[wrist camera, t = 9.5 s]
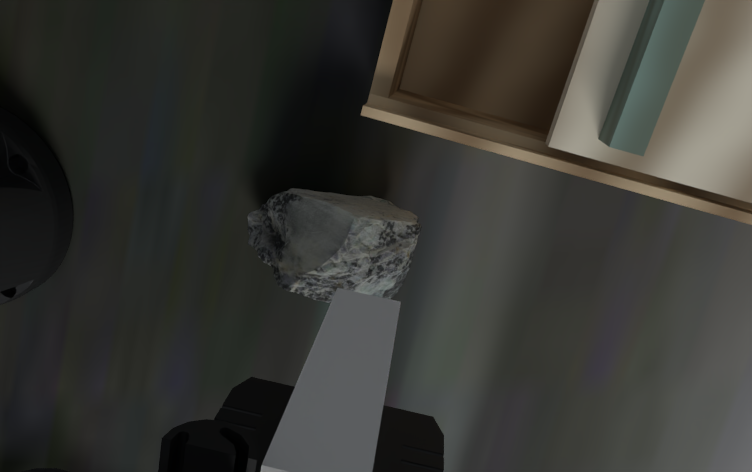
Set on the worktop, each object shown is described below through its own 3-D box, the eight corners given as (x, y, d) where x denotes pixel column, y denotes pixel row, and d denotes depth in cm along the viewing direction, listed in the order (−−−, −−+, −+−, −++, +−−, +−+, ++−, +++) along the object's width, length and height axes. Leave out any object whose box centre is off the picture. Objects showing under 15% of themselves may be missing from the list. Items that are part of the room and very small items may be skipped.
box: (381, 98, 42) (360, 115, 33) (442, -138, 38) (437, -193, 29) (714, 191, 42) (786, 234, 32) (815, -40, 37) (931, -65, 28)
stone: (264, 342, 37) (395, 233, 34) (212, 212, 42) (322, 108, 39) (358, 358, 45) (471, 270, 42) (305, 247, 50) (402, 162, 47)
